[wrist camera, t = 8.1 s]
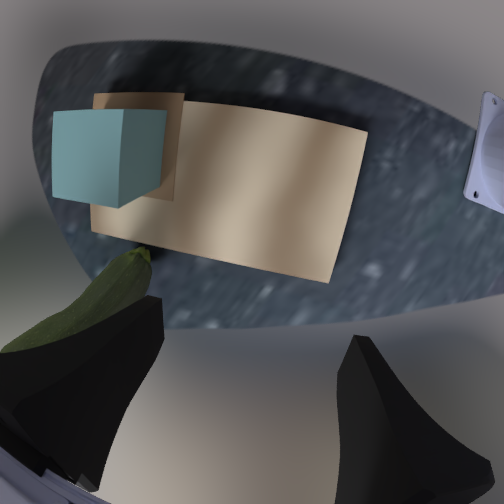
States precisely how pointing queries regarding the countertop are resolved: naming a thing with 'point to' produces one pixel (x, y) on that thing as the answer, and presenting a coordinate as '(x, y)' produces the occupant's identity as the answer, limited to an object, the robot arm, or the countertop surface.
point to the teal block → (107, 154)
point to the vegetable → (94, 301)
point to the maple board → (242, 186)
